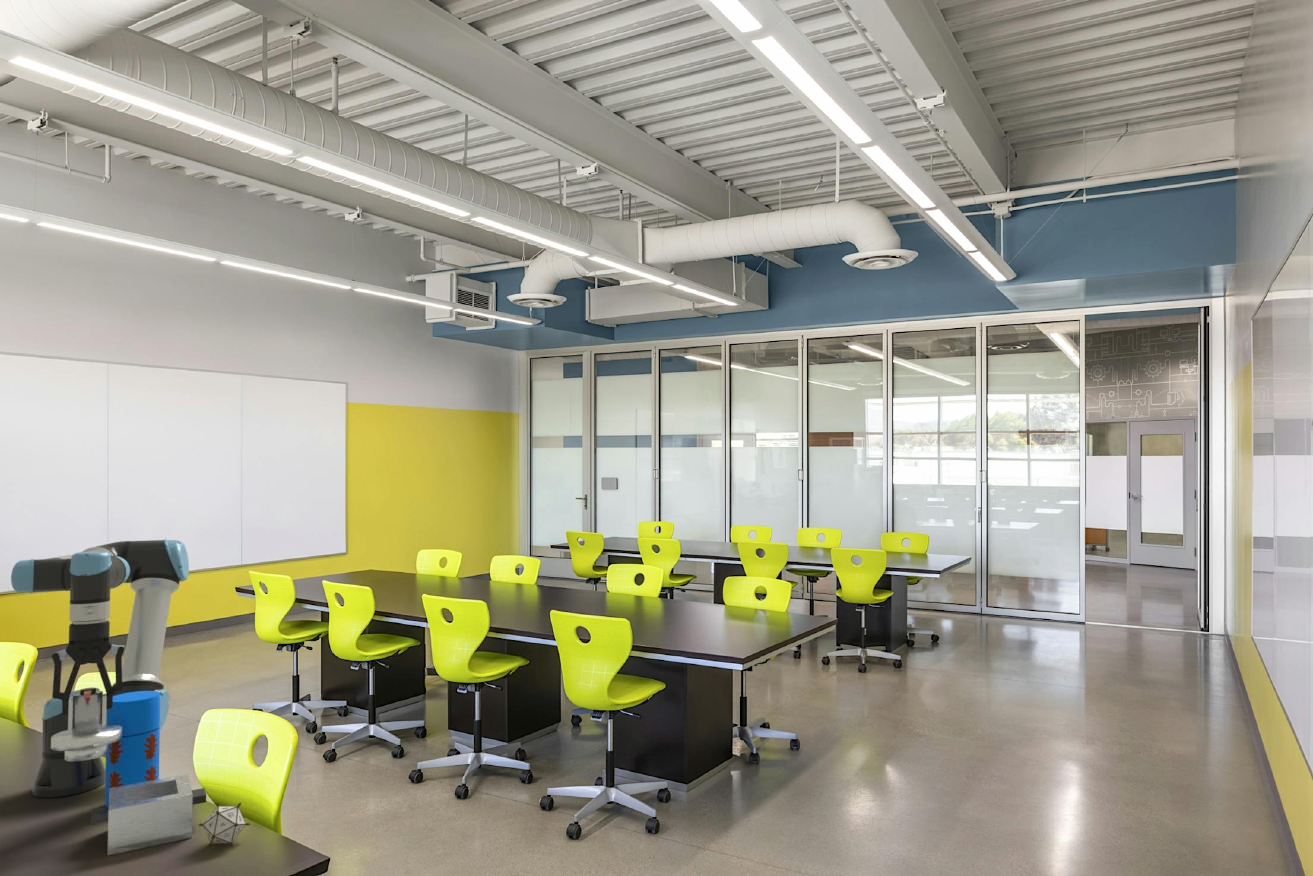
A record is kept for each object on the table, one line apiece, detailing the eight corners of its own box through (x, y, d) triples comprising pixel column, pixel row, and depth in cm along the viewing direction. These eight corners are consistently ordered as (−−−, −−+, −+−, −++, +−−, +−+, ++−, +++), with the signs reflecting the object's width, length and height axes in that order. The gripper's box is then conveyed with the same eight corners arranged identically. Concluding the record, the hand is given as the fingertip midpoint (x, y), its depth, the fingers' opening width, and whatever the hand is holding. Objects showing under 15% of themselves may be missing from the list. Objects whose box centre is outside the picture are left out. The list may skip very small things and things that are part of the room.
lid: (52, 753, 187) (54, 687, 188) (121, 743, 194) (123, 679, 195) (48, 769, 176) (49, 699, 177) (121, 757, 183) (122, 690, 184)
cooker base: (92, 833, 180) (92, 791, 181) (202, 811, 192) (202, 771, 192) (89, 859, 168) (90, 813, 168) (207, 834, 179) (208, 791, 180)
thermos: (132, 813, 191) (134, 703, 192) (93, 810, 193) (95, 701, 194) (169, 796, 202) (171, 691, 203) (131, 793, 204) (133, 689, 205)
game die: (223, 866, 172) (206, 839, 166) (201, 843, 176) (185, 816, 171) (262, 832, 178) (248, 805, 172) (240, 811, 182) (226, 784, 177)
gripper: (36, 627, 178) (34, 738, 177) (138, 619, 188) (136, 723, 187) (39, 623, 185) (37, 729, 183) (138, 615, 195) (136, 716, 193)
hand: (87, 726), depth 185 cm, fingers closed on lid, 5 cm apart
